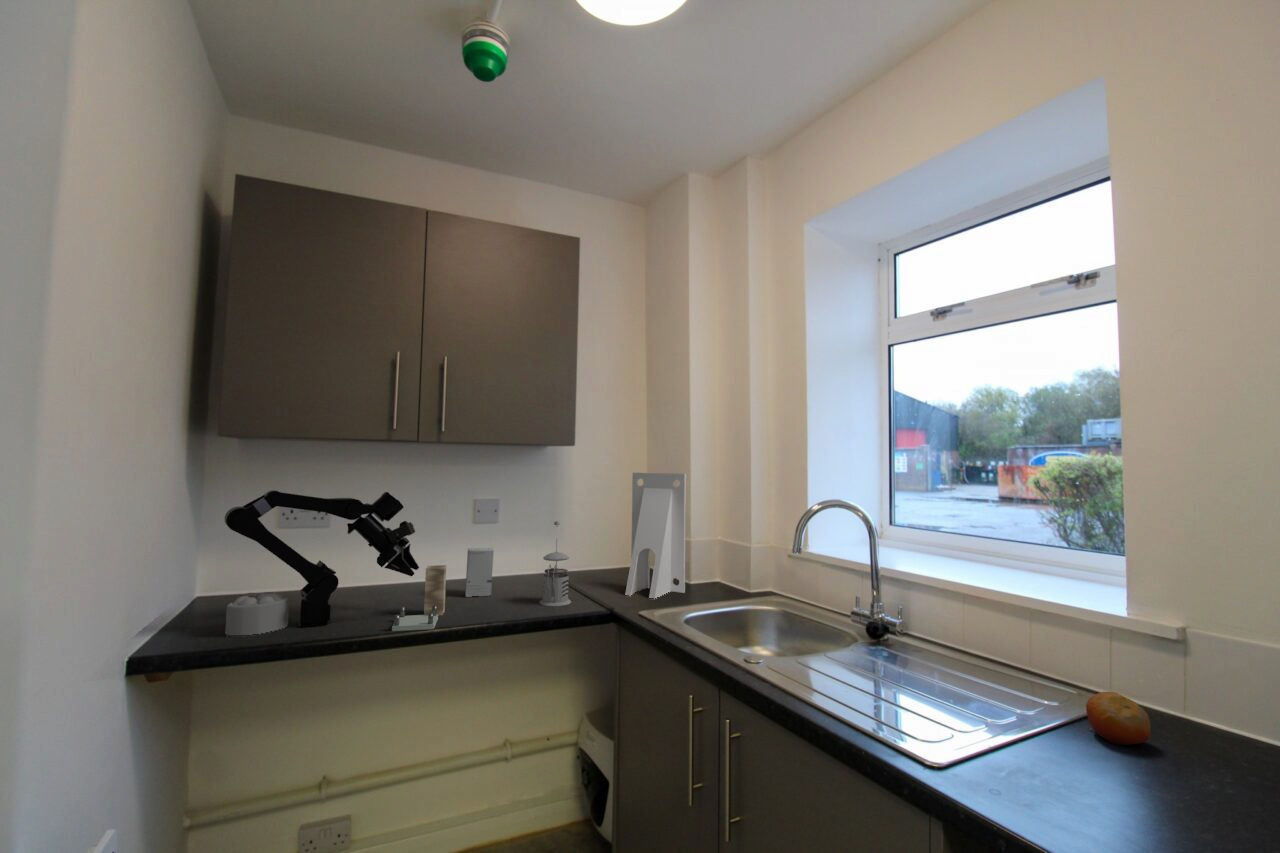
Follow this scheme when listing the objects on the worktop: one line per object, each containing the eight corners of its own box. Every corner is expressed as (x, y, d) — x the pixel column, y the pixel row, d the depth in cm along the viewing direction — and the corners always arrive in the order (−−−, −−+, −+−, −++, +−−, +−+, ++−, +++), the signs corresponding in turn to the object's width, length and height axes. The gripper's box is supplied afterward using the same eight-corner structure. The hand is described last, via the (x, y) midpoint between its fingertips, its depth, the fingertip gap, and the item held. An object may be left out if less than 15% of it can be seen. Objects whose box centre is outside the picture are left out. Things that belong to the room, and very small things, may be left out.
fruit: (1110, 714, 99) (1130, 682, 95) (1147, 759, 92) (1170, 727, 88) (1064, 714, 99) (1082, 682, 95) (1098, 759, 92) (1119, 727, 88)
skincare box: (465, 597, 183) (466, 550, 184) (465, 593, 189) (466, 547, 190) (492, 596, 186) (493, 549, 187) (491, 592, 191) (492, 546, 192)
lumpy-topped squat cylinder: (292, 626, 149) (294, 592, 150) (238, 639, 138) (240, 603, 139) (270, 620, 154) (271, 588, 155) (215, 633, 143) (217, 597, 144)
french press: (574, 599, 183) (575, 519, 185) (566, 608, 172) (567, 523, 173) (544, 597, 184) (545, 519, 186) (533, 606, 173) (535, 522, 174)
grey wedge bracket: (612, 594, 191) (614, 472, 194) (632, 586, 204) (633, 472, 206) (667, 601, 182) (669, 474, 185) (684, 592, 195) (685, 473, 198)
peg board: (392, 631, 146) (392, 616, 147) (399, 620, 156) (399, 606, 156) (433, 629, 149) (434, 614, 149) (438, 618, 158) (438, 605, 159)
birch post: (424, 616, 161) (425, 568, 162) (426, 611, 166) (428, 565, 167) (442, 615, 162) (444, 568, 163) (444, 610, 167) (446, 565, 168)
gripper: (391, 515, 154) (433, 556, 156) (403, 509, 172) (440, 546, 174) (358, 546, 152) (401, 587, 154) (373, 537, 170) (412, 573, 172)
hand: (415, 571), depth 164 cm, fingers open, 9 cm apart
